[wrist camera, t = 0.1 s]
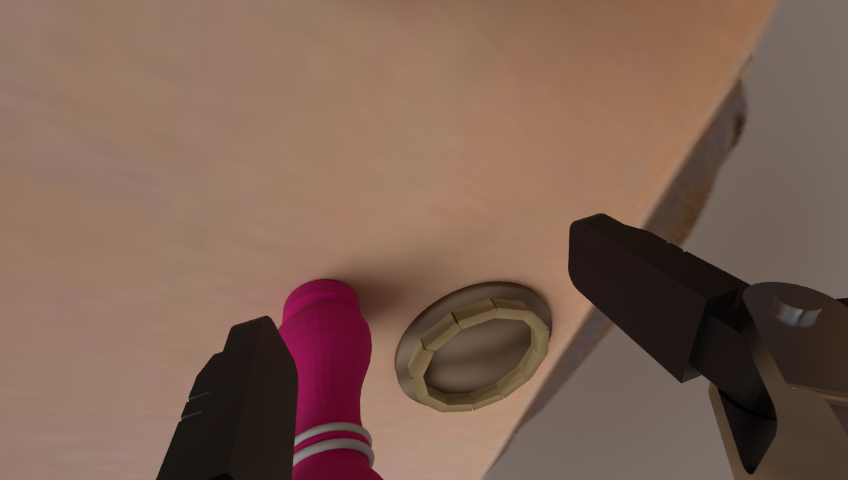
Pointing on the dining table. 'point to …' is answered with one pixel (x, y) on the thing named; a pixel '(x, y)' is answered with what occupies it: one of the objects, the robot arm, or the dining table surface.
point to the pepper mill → (329, 382)
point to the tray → (473, 346)
